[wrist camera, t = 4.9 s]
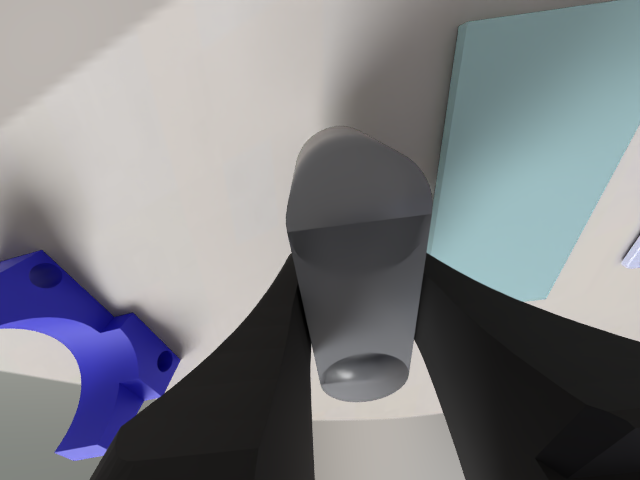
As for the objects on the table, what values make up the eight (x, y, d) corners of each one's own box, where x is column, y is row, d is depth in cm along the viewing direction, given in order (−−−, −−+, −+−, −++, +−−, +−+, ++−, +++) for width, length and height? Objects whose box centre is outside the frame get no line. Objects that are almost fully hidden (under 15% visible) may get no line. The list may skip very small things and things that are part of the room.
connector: (381, 120, 8) (443, 134, 5) (377, 333, 15) (402, 415, 11) (287, 132, 9) (270, 157, 5) (323, 340, 15) (329, 423, 11)
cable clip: (181, 358, 20) (136, 449, 14) (134, 368, 20) (73, 461, 15) (66, 242, 13) (-84, 328, 8) (1, 260, 14) (-179, 352, 9)
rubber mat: (689, -7, 9) (712, -13, 8) (538, 293, 17) (545, 299, 17) (458, 26, 9) (467, 21, 9) (418, 307, 17) (421, 313, 17)
